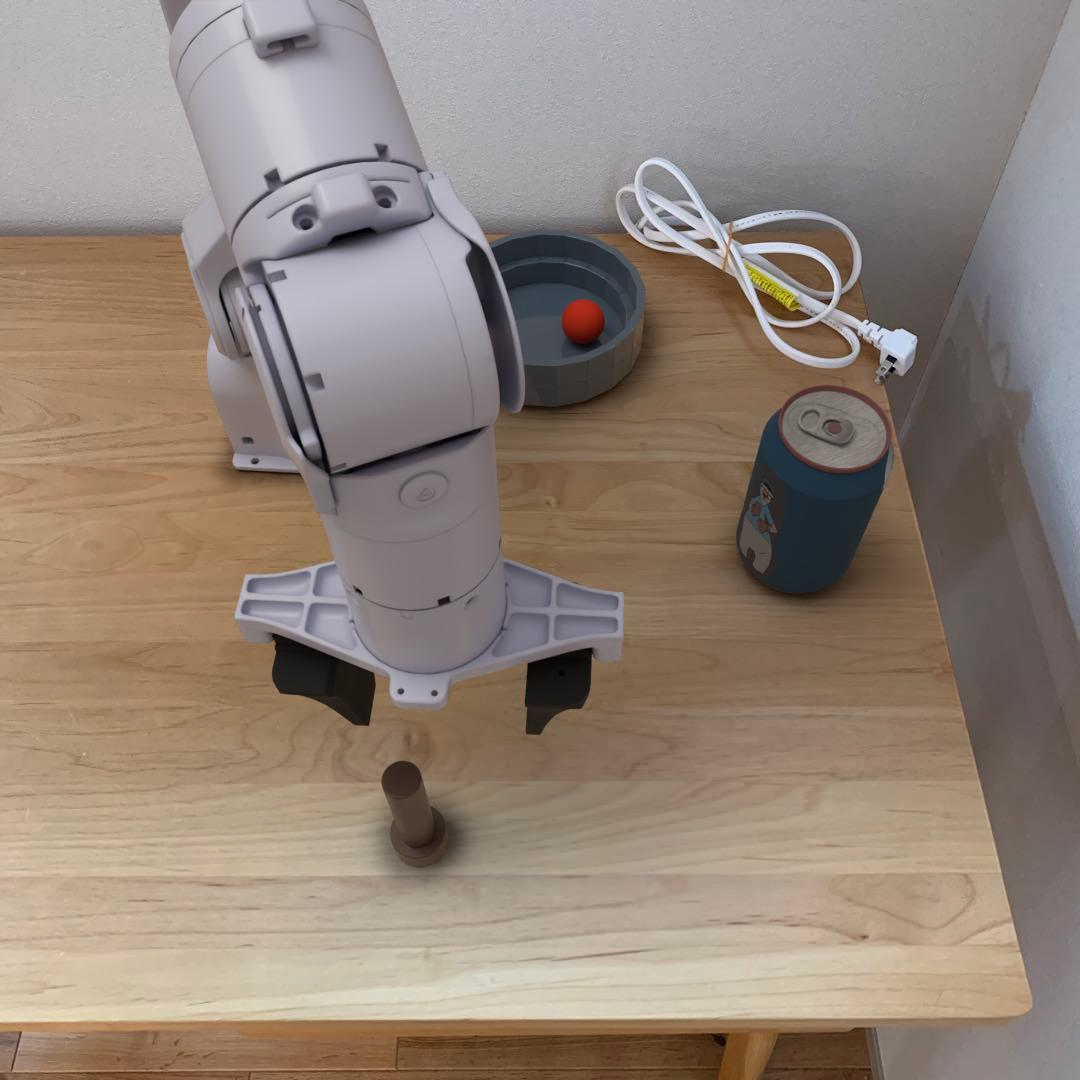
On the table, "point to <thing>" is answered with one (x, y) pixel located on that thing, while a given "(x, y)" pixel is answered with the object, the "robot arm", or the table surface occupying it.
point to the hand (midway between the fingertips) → (450, 709)
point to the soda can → (814, 488)
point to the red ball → (583, 321)
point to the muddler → (413, 816)
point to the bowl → (545, 292)
